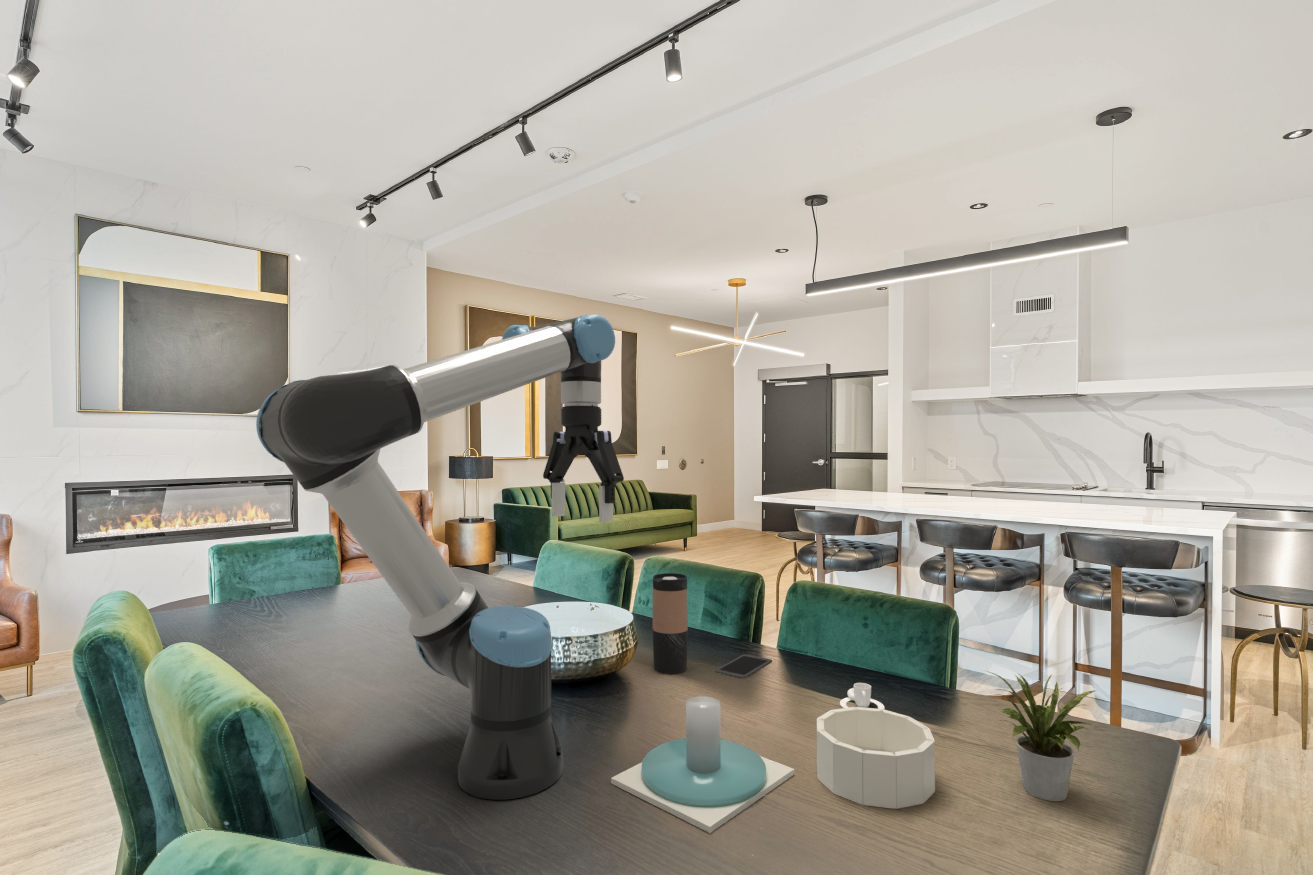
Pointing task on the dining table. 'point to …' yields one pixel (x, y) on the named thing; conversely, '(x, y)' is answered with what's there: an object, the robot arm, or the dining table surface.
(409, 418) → the robot arm
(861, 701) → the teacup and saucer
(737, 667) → the cell phone
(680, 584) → the travel mug
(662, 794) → the lid
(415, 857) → the dining table surface
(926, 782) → the bowl
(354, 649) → the dining table surface
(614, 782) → the mat
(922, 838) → the dining table surface
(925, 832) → the dining table surface
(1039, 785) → the house plant
